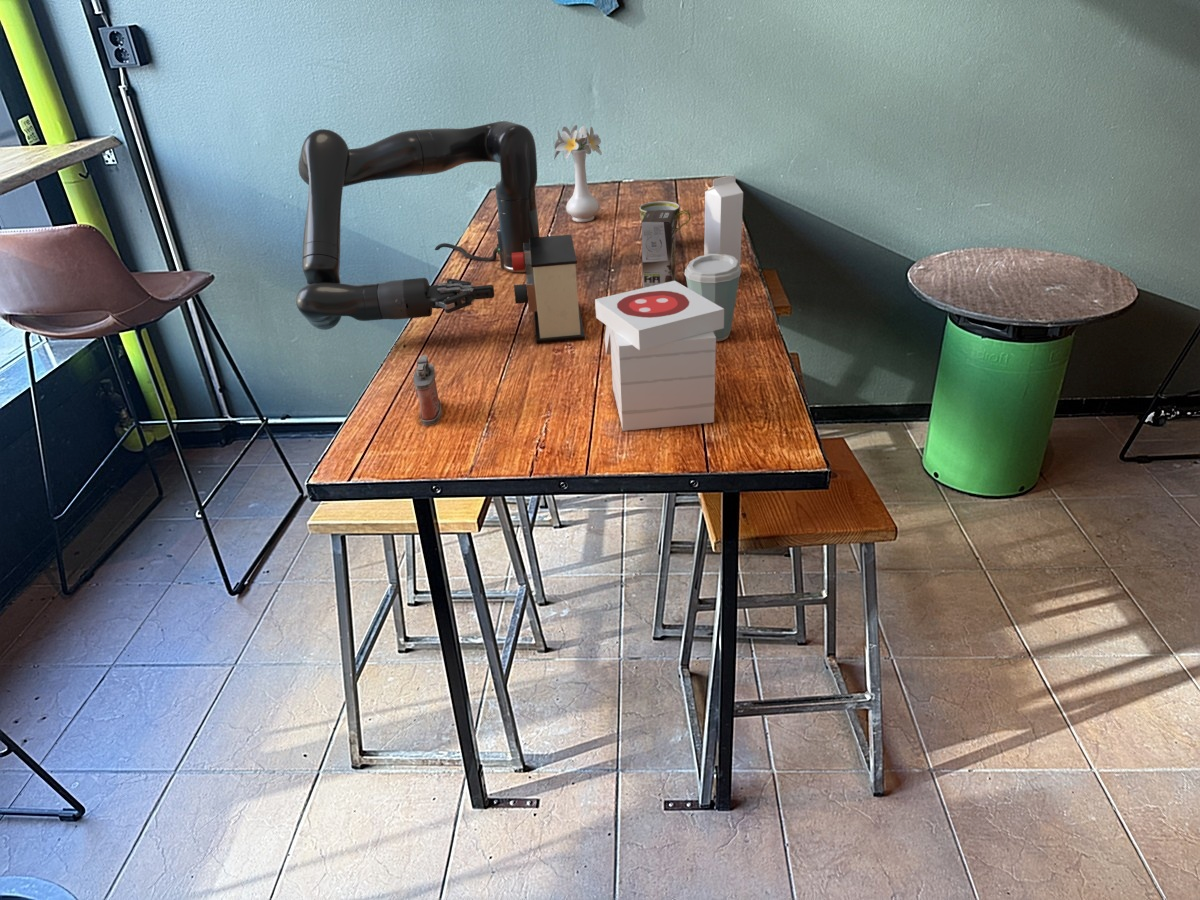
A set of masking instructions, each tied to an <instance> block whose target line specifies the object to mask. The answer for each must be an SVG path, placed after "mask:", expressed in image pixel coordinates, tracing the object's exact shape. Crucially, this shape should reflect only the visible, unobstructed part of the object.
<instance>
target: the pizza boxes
mask: <svg viewBox="0 0 1200 900" xmlns="http://www.w3.org/2000/svg"><path fill="white" fill-rule="evenodd" d="M594 304H595V305H594V307H595V319H597V320H598V321H599V322H601V323H602V324H603V325H605V332H604V347H605V355H606V356H607V355H610V361H611V380H612V381H611V382H612V391H613V395H614V400H615V404H616V408H617V413H618V416H619V420H620V425H621V429H622V432H625V431H634V430H635V431H636V430H647V429H658V428H667V427H668V428H670V427H677V426H678V427H679V426H689V425H690V426H691V425H701V424H711V423H715V404H716V403H715V402H716V401H715V396H716V355H717V353H716V352H717V351H716V350H717V342H716V337H715V335H714V333H713V331H715V330H719V329H723V328H724V309H723V308H722V307H720V306H718V305H716V304H715V303H713V302H711V301H709V300H708V299H706V298H704V297H702V296H701V295H699V294H697V293H695V292H694V291H692V290H690V289H689V288H688V286H685V285H683V284H682V283H680V282H678V281H677V280H675V281H671V282H667V283H662V284H658V285H654V286H650V287H645V288H643V287H641V288H636V289H632V290H628V291H624V292H620V293H615V294H611V295H607V296H603V297H598V298H595V299H594Z"/></svg>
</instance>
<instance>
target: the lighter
mask: <svg viewBox="0 0 1200 900" xmlns="http://www.w3.org/2000/svg"><path fill="white" fill-rule="evenodd" d="M416 366H417V368H416V370H415V371H414V374H413V380H412V381H413V385H414V389H415V394H416V398H417V399H418V404H419V409H420V412H419V415H420V416H419V417H420V422H421V424H422V425H423V426H433V425H436V424H437V423H438V422H439V420H440V419H441V416H442V404H441V400H440V399H439V394H438V387H437V383H436V369H435V366H434V364H433V363H429V359H428V355H426V354H425V355H420V356H419V358H418V359H416Z"/></svg>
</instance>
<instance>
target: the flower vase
mask: <svg viewBox="0 0 1200 900" xmlns="http://www.w3.org/2000/svg"><path fill="white" fill-rule="evenodd" d="M577 129H578V125H577V124H575V125H574V126H573V127H572V128H571V129H569V128H568V127H567V126H562V128H561V133H560V131H559V129H557V139H555V142H554V149H555V150H556V151H555V154H554V157H553V159H554V160H555V159H556V158H557V157H558V155H559V154H560V153H561V152H563V151H564V154H563V155H564V157H563V158H564V159H566V160H567V159H568V158H569V157H570V155H572V159H573V165H574V190H573V193H572V195H571V197H570V198H569V199H568V200H567V203H566V206H565V211H566V213H567V214H568V215H569V216H570V217H572V218H571V220H572V221H573V222H577V223H588V222H591V221H594V219H595V215H597V214H598V212H599V209H600V204H599V202H598V200H597V198H596V197H595V196H594V195H593V194H592V193H591V191H590V189H589V186H588V185H589V184H588V179H587V169H586V157H587V155H590V154H592V152H596V153H598V154H599V155H600V156H602V155H603V153H602V151H601V147H600V144H601V143H602V139H601V138H600V136H599V135H598V134H597V133H595V131H594V128H593V126H590V127H589V130H588V128H587V127H586V126H585V125H582V126H581V127H580V128H579V131H577Z"/></svg>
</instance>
